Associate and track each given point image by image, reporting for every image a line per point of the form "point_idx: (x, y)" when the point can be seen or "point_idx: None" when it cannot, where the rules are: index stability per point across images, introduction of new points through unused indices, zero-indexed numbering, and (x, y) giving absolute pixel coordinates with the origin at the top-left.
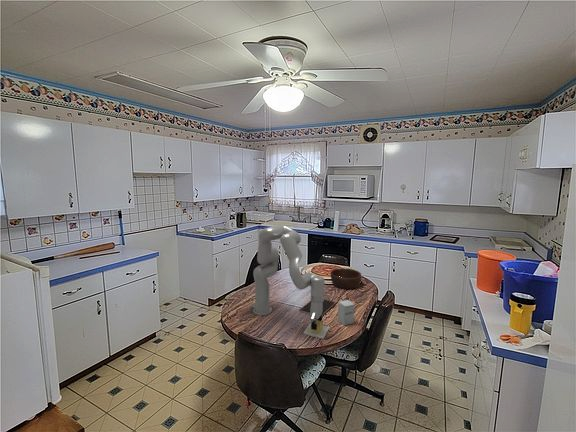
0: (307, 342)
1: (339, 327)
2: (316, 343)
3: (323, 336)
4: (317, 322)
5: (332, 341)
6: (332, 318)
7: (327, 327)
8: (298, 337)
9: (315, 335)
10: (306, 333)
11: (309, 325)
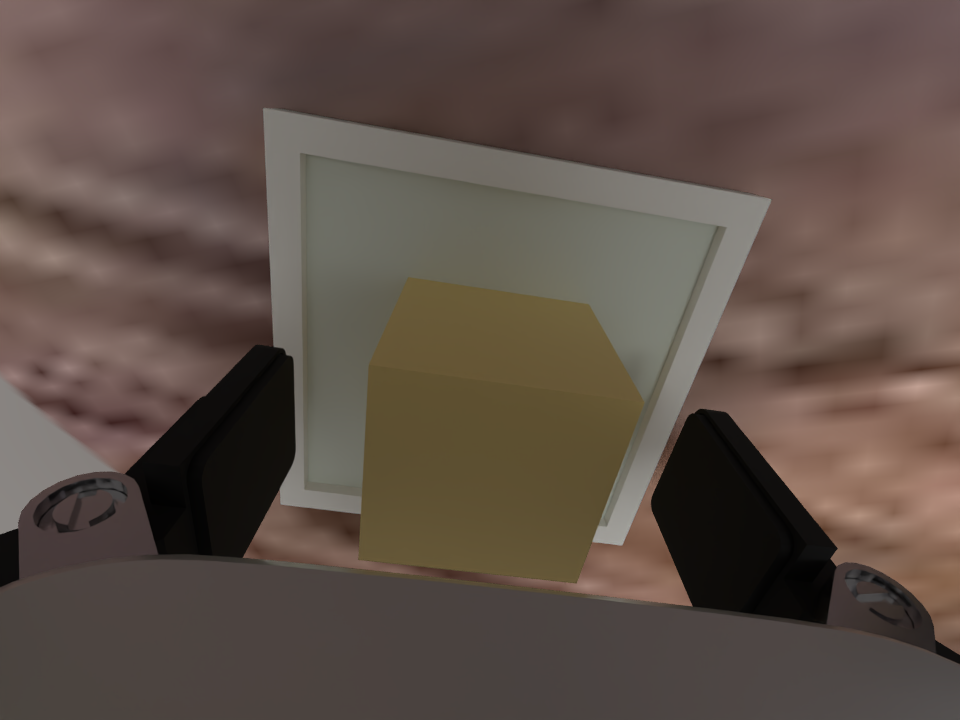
0: (44, 260)
1: None
2: (119, 408)
3: (310, 499)
4: (488, 504)
5: None
6: (950, 533)
7: (607, 522)
8: (88, 3)
9: None
10: (267, 194)
11: (640, 199)
